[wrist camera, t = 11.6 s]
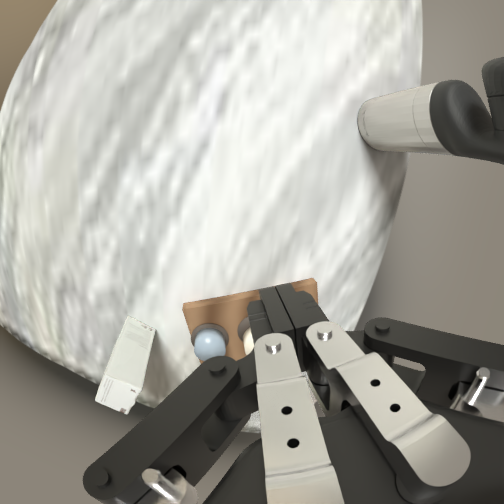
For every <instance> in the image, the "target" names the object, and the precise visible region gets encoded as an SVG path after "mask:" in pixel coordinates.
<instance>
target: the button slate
mask: <svg viewBox="0 0 504 504" xmlns="http://www.w3.org/2000/svg"><path fill="white" fill-rule="evenodd" d="M194 352H195V355H196V356H197V357H198V358H199V359H200V360H202V361H206V360H207V359H209V358H212V357H215V356H224V355H225V352H226V348H225V338H224V335H223V334H222V332H220V331H219V330H217V329H214V328H205V329H202V330H200V331H199V332H198V333H197V334H196V336H195V348H194Z"/></svg>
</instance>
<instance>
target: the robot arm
mask: <svg viewBox="0 0 504 504" xmlns="http://www.w3.org/2000/svg"><path fill="white" fill-rule="evenodd" d="M482 77H483V82H484V86H485V90H486V94H487V97H488V103H489V107H490V112H491V116H490V114H489V112H488V111H487V109H486V107H485V105H484V103H483V102H482V100H481V98H480V97H479V95H478V94H477V92H476V91H475V90H474V89H473V88H472V87H471V86H469V85H468V84H467V83H465V82H463V81H459V80H449V81H444V82H438V83H433V84H429V85H424V86H420V87H416V88H411V89H407V90H403V91H399V92H395V93H391V94H388V95H384V96H380V97H376V98H373V99H370V100H368V101H366V102H365V103H364V104H363V105H362V106H361V108H360V110H359V113H358V127H359V131H360V133H361V135H362V137H363V139H364V140H365V141H366V143H367V144H368V145H370V146H371V147H372V148H374V149H376V150H380V151H396V152H415V153H430V154H442V155H452V156H461V157H469V158H474V159H481V160H487V161H491V162H496V163H500V164H504V57H501V58H497V59H493V60H491V61H489V62H487V63H486V64H485V65H484V66H483V68H482ZM491 117H492V118H491ZM259 297H260V300H256V301H251V302H249V304H248V306H247V314H248V319H249V324H250V329H251V334H252V338H253V343H254V348H253V350H252V351H251V352H250V353H249V354H248V355H247V356H245V357H244V358H242V359H239V360H237V361H235V360H234V359H233V358H231V357H228V356H215V357H212V358H209V359H207V360H206V361H204V362H203V363H202V364H201V365H200V366H199V367H198V368H197V369H196V370H195V371H194V372H193V373H192V374H191V375H190V376H189V377H188V378H187V379H185V380H184V381H183V382H182V383H181V384H180V385H179V386H178V387H177V388H176V389H175V390H174V391H173V392H172V393H171V394H170V395H169V396H168V397H167V398H166V399H164V400H163V401H162V402H161V403H160V404H159V405H158V406H157V407H156V408H155V409H154V410H153V411H152V412H151V413H149V414H148V415H147V416H146V417H145V418H144V419H143V420H142V421H141V422H140V423H139V424H137V425H136V426H135V427H134V428H133V429H132V430H131V431H130V432H128V433H127V434H126V435H125V436H124V437H123V438H122V439H121V440H119V441H118V442H117V443H116V444H115V445H114V446H112V447H111V448H110V449H109V450H108V451H107V452H106V453H104V454H103V455H102V456H101V457H100V458H98V459H97V460H96V461H95V462H94V463H93V464H91V465H90V466H89V467H88V468H87V470H86V471H85V473H84V476H83V485H84V488H85V490H86V491H87V492H88V494H90V495H91V496H92V497H94V498H95V499H97V500H98V501H100V502H101V503H103V504H197V502H198V494H197V491H196V489H195V488H194V486H195V485H196V484H197V483H198V482H199V481H200V480H201V478H202V477H203V476H204V475H205V474H206V473H207V472H208V470H209V469H210V468H211V467H212V466H213V465H214V463H215V462H216V461H217V460H218V459H219V457H220V456H221V455H222V454H223V452H224V451H225V450H226V449H227V448H228V446H229V445H230V444H231V442H232V441H233V440H234V439H235V437H236V436H237V435H238V434H239V432H240V431H241V430H242V428H243V427H244V426H245V424H246V423H247V422H248V420H249V419H250V416H251V413H253V412H256V411H258V410H259V416H260V426H261V435H262V438H260V439H258V440H257V441H255V442H254V443H252V444H251V445H249V446H248V447H247V448H246V449H245V450H244V451H243V452H242V453H241V454H240V455H239V456H238V458H237V459H236V460H235V462H234V463H233V465H232V466H231V467H230V469H229V470H228V471H227V473H226V474H225V476H224V477H223V478H222V480H221V481H220V482H219V483H218V485H217V486H216V488H215V489H214V490H213V491H212V492H211V494H210V495H209V496H208V498H207V499H206V500H205V501H204V502H203V504H504V345H500V344H496V343H491V342H486V341H482V340H477V339H472V338H468V337H464V336H459V335H455V334H451V333H446V332H441V331H438V330H434V329H429V328H425V327H421V326H417V325H413V324H408V323H405V322H401V321H397V320H393V319H389V318H375V319H372V320H370V321H369V322H367V323H366V325H365V329H364V331H344V329H343V328H342V327H341V326H340V325H338V324H336V323H334V322H329V320H328V319H327V317H326V316H325V314H324V313H323V311H322V310H321V308H320V307H319V306H318V304H317V302H315V299H314V298H313V297H312V295H311V294H309V293H307V292H305V291H304V290H303V291H298V292H296V291H295V289H294V288H293V286H292V284H291V283H286V284H282V285H277V286H275V287H274V286H272V287H267V288H262V289H259ZM395 356H396V357H399V358H403V359H407V360H410V361H413V362H417V363H420V364H422V365H423V366H424V367H425V369H426V370H425V371H418V370H414V369H411V368H407V367H404V366H401V365H397V364H394V363H393V362H394V357H395ZM304 371H306V372H307V374H308V383H307V380H306V377H305V376H302V373H301V372H304ZM308 384H309V386H308ZM309 387H310V389H311V391H312V392H313V394H314V396H315V398H316V400H317V402H318V403H319V405H320V407H321V409H322V411H323V413H324V414H325V417H319V418H318V417H317V413H316V410H315V407H314V403H313V400H312V396H311V393H310V390H309Z"/></svg>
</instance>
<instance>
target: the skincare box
mask: <svg viewBox="0 0 504 504" xmlns="http://www.w3.org/2000/svg"><path fill="white" fill-rule="evenodd" d="M155 331H156V330H155V329H154V328H152V327H150V326H148V325H146V324H144V323H142V322H140V321H138V320H137V319H135V318H133V317H131V316H127V318H126V321H125V323H124V325H123V328H122V330H121V333H120V335H119V337H118V339H117V341H116V343H115V346H114V348H113V351H112V353H111V356H110V359H109V361H108V364H107V367H106V370H105V372H104V375H103V378H102V380H101V383H100V386H99V389H98V392H97V395H96V398H95V401H97V402H99V403H101V404H103V405H106V406H108V407H110V408H113V409H115V410H117V411H120V412H122V413H125V414H128V413H129V411H130V409H131V407H132V406H133V405H134V404H135V400H136V398H137V397H138V395H139V394H140V393H141V391H142V389H143V384H144V379H145V375H146V370H147V365H148V361H149V357H150V352H151V348H152V344H153V339H154V335H155Z"/></svg>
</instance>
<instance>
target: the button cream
mask: <svg viewBox="0 0 504 504" xmlns="http://www.w3.org/2000/svg"><path fill="white" fill-rule="evenodd" d="M243 343H244V348H245V353H246V355H248V354H249V353H250V352H251V351H252V350H253V348H254V343H253V338H252V334H251V329H250V328H249V329H247V330H246V332H245V333H244V335H243Z"/></svg>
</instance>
